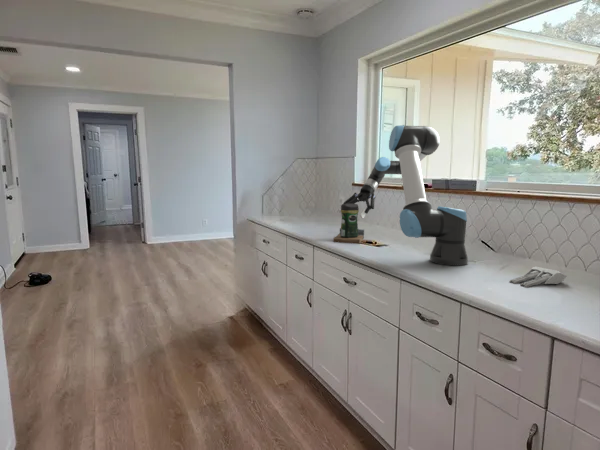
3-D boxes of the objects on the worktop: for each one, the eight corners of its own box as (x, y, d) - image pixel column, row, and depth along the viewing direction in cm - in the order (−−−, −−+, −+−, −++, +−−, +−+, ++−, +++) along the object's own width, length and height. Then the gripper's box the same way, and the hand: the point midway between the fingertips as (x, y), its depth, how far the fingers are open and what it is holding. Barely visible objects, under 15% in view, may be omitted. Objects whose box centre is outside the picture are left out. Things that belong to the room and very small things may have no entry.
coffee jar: (353, 235, 215) (354, 202, 213) (360, 237, 208) (361, 203, 205) (337, 236, 212) (338, 203, 209) (344, 238, 204) (345, 204, 202)
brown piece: (359, 243, 200) (359, 234, 200) (333, 242, 204) (333, 232, 204) (364, 238, 219) (364, 229, 218) (340, 236, 223) (340, 228, 222)
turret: (504, 287, 134) (504, 274, 133) (544, 274, 140) (544, 262, 139) (530, 295, 125) (530, 282, 124) (572, 282, 131) (572, 269, 130)
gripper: (389, 194, 212) (372, 222, 203) (354, 191, 229) (337, 218, 221) (384, 184, 207) (367, 213, 199) (349, 183, 225) (331, 209, 217)
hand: (351, 216), depth 210 cm, fingers open, 13 cm apart
